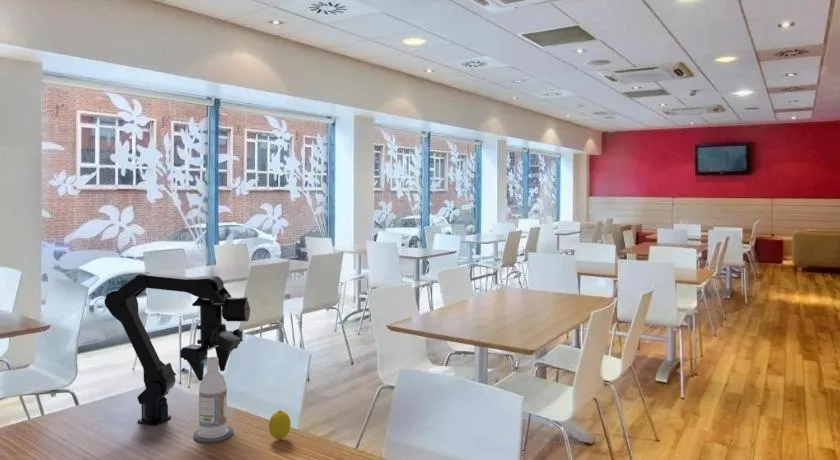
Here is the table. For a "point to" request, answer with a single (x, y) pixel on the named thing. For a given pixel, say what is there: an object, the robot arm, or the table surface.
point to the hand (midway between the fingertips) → (211, 375)
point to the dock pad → (213, 439)
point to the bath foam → (212, 401)
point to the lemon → (279, 425)
